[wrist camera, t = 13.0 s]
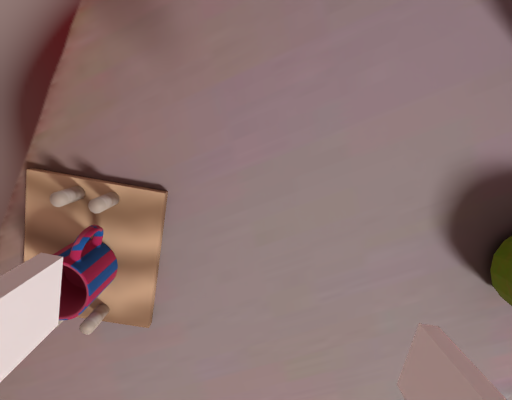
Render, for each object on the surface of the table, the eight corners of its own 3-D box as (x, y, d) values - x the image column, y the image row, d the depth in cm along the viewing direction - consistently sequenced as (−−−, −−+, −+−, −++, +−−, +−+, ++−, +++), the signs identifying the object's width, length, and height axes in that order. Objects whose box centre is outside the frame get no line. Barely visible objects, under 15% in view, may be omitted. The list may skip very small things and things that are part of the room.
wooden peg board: (33, 168, 37) (-2, 173, 32) (167, 191, 38) (154, 200, 33) (29, 303, 41) (-3, 328, 36) (151, 322, 41) (137, 348, 36)
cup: (53, 270, 38) (12, 299, 32) (91, 205, 37) (56, 221, 30) (102, 298, 39) (71, 331, 33) (141, 235, 38) (117, 257, 31)
